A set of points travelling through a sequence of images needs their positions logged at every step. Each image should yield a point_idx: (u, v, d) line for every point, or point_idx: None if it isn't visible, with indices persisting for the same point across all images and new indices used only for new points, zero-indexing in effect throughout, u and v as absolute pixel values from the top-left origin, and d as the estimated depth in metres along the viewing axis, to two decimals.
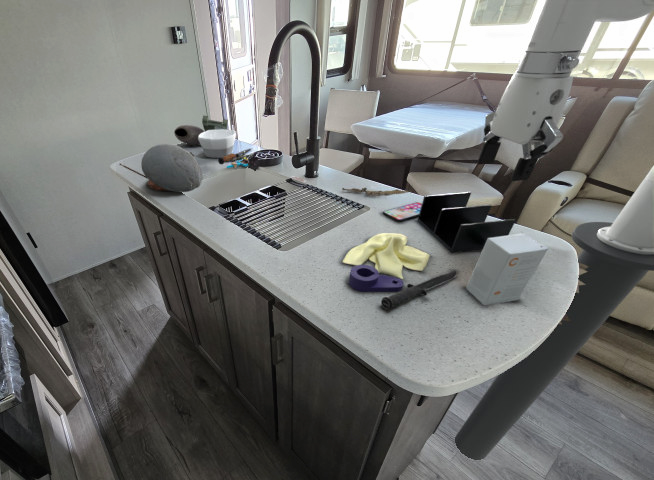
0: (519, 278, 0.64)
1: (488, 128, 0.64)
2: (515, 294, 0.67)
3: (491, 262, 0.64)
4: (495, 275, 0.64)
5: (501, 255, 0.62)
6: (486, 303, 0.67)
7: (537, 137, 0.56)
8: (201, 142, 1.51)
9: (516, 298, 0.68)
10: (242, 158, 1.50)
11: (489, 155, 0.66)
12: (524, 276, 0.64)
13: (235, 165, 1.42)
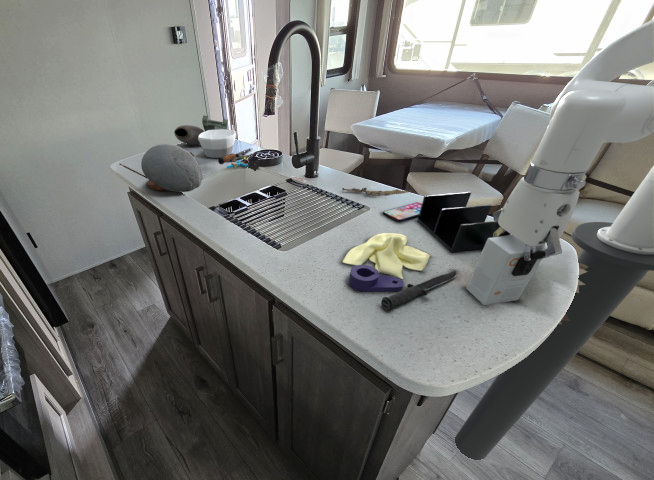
0: (519, 278, 0.64)
1: (498, 224, 0.66)
2: (515, 294, 0.67)
3: (492, 262, 0.64)
4: (495, 276, 0.64)
5: (501, 256, 0.62)
6: (486, 303, 0.67)
7: (544, 239, 0.58)
8: (201, 142, 1.51)
9: (516, 298, 0.68)
10: (242, 158, 1.50)
11: None
12: (524, 276, 0.64)
13: (235, 165, 1.42)
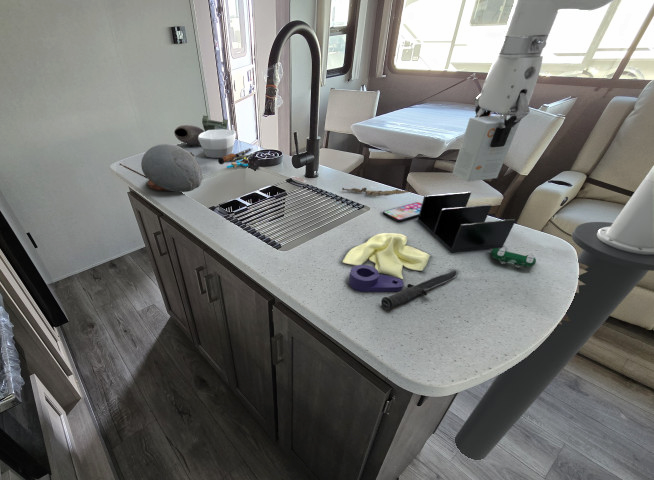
0: (496, 152, 0.75)
1: (479, 107, 0.76)
2: (494, 171, 0.78)
3: (473, 138, 0.75)
4: (476, 149, 0.74)
5: (480, 128, 0.72)
6: (469, 178, 0.78)
7: (516, 107, 0.69)
8: (201, 142, 1.51)
9: (495, 175, 0.79)
10: (242, 158, 1.50)
11: None
12: (501, 150, 0.75)
13: (235, 165, 1.42)
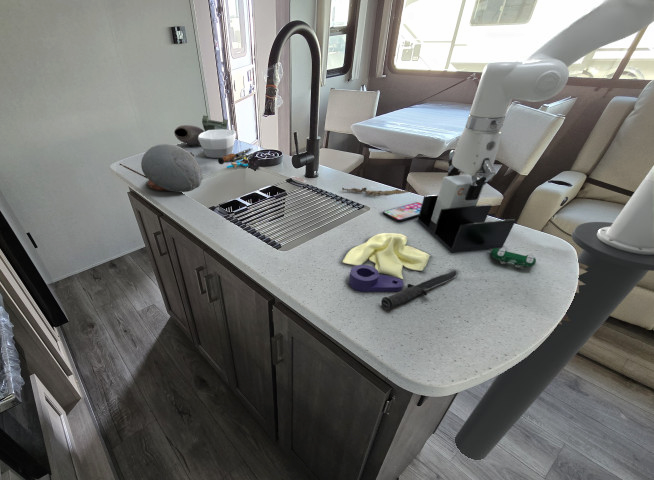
0: (466, 206, 0.88)
1: (451, 161, 0.89)
2: None
3: (446, 194, 0.88)
4: (449, 204, 0.87)
5: (452, 187, 0.85)
6: None
7: (481, 171, 0.81)
8: (201, 142, 1.51)
9: None
10: (242, 158, 1.50)
11: None
12: (470, 205, 0.88)
13: (235, 165, 1.42)
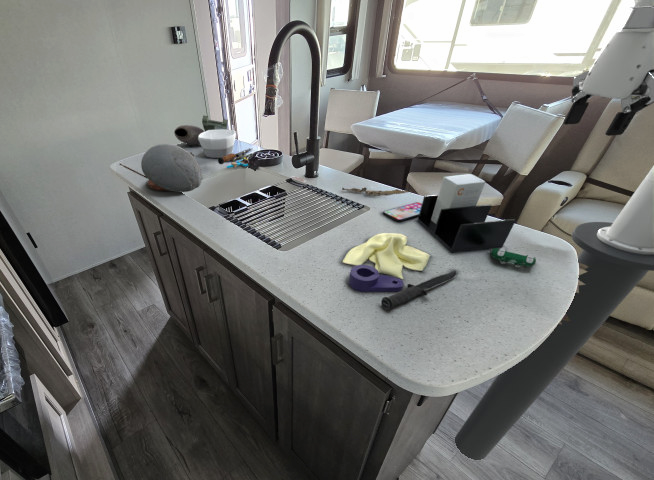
0: (466, 206, 0.88)
1: (577, 89, 0.67)
2: None
3: (446, 194, 0.88)
4: (449, 204, 0.87)
5: (452, 187, 0.85)
6: None
7: (636, 92, 0.59)
8: (201, 142, 1.51)
9: None
10: (242, 158, 1.50)
11: (576, 115, 0.69)
12: (470, 205, 0.88)
13: (235, 165, 1.42)
